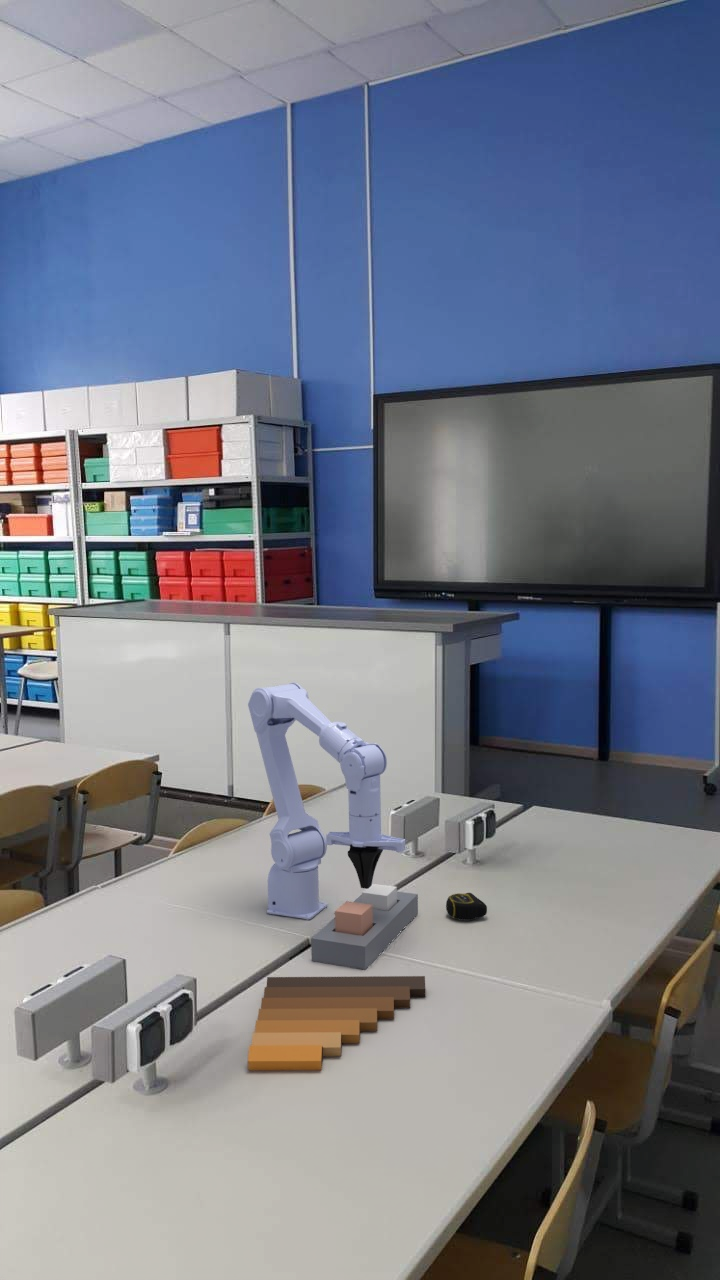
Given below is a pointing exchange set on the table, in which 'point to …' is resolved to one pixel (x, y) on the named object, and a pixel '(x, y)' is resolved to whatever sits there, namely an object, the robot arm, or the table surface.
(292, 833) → the robot arm
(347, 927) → the terracotta key
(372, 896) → the white key
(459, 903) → the tape measure
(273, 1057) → the pan flute
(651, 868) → the table surface
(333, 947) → the key panel
